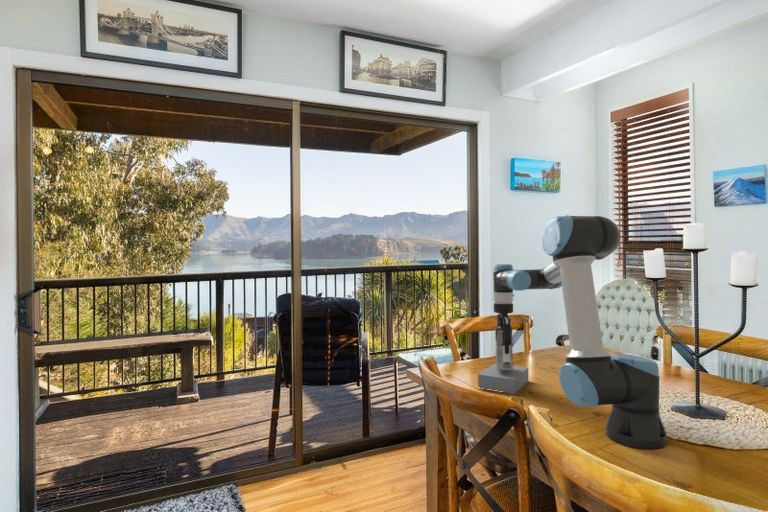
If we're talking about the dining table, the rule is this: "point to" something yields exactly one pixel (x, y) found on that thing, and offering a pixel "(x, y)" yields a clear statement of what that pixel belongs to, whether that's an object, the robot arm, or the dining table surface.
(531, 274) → the robot arm
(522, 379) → the grey flat block
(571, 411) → the dining table surface
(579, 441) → the dining table surface
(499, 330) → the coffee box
